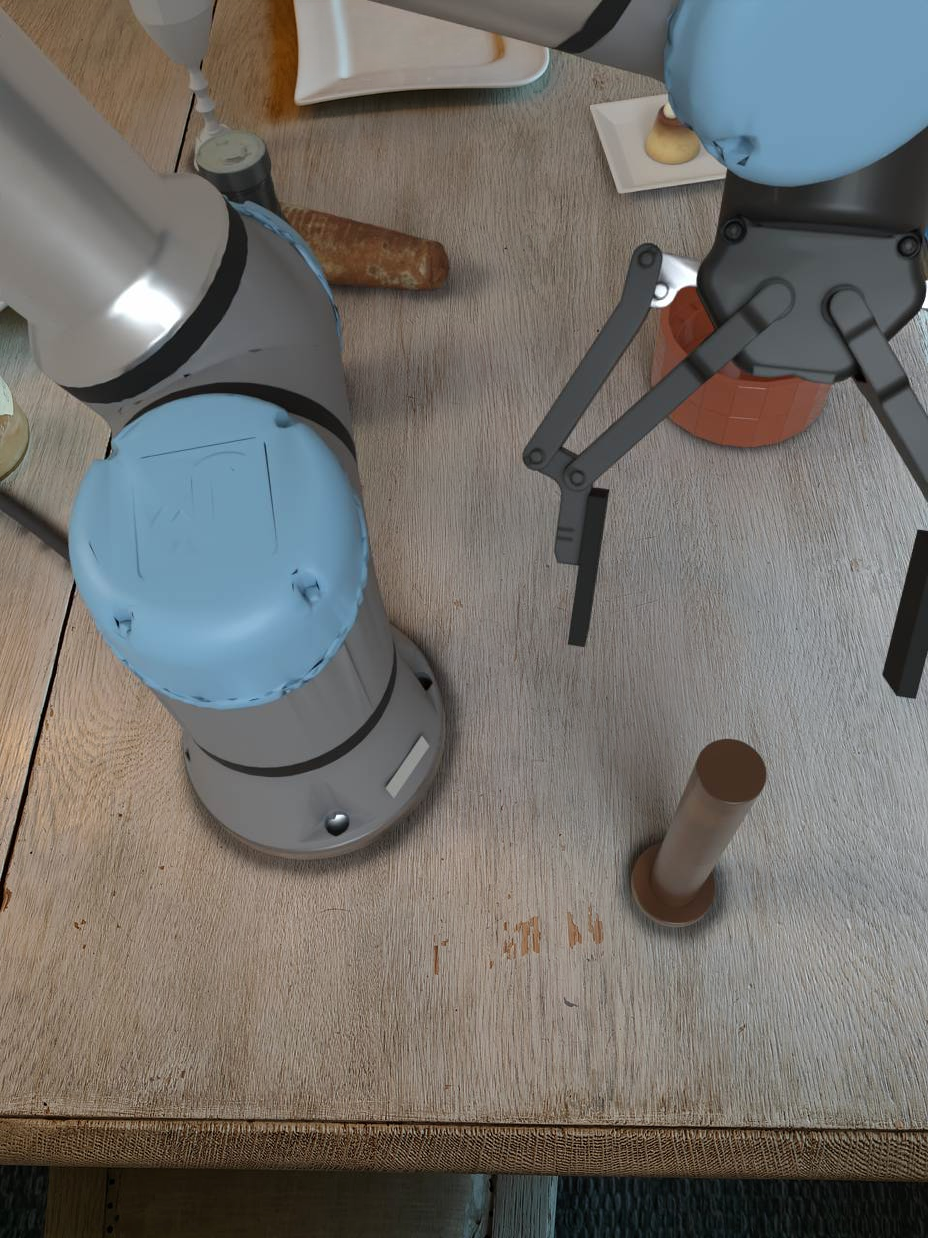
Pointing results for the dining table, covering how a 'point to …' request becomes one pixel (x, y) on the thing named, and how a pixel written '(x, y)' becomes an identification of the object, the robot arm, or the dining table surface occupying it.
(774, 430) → the bowl
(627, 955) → the dining table surface
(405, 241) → the bread
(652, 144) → the dessert
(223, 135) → the sauce bottle
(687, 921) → the wooden peg on base
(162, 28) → the chalice
